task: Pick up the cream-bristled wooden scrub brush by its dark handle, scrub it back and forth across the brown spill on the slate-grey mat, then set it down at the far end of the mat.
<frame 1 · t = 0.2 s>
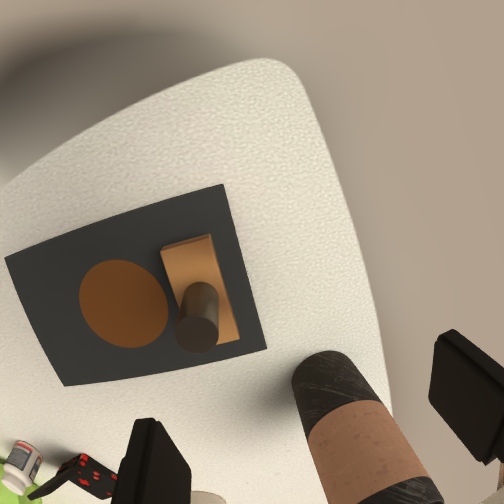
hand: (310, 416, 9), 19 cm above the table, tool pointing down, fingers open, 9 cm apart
mug: (188, 502, 37), on the table
pill bottle: (30, 450, 32), on the table
scrub brush: (202, 285, 27), resting on scrub mat
handheld gaming console: (86, 469, 33), on the table
travel mug: (322, 376, 32), on the table
teapot: (16, 474, 34), on the table
scrub mat: (122, 304, 27), on the table
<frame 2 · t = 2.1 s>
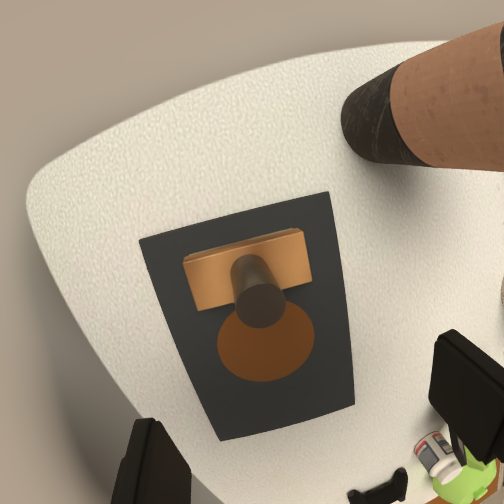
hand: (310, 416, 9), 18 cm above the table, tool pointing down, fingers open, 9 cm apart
pill bottle: (426, 441, 37), on the table
scrub brush: (245, 261, 25), resting on scrub mat
gaming controller: (375, 485, 39), on the table
handheld gaming console: (455, 391, 35), on the table
travel mug: (375, 124, 24), on the table
teapot: (452, 456, 41), on the table
scrub mat: (266, 341, 28), on the table
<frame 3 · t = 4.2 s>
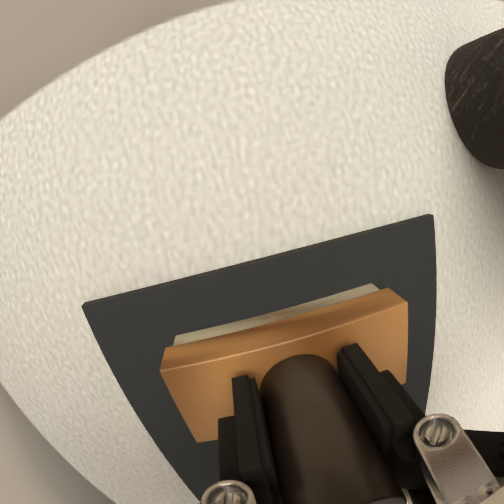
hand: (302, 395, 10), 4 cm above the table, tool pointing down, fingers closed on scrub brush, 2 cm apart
scrub brush: (284, 346, 13), resting on scrub mat, touching gripper
travel mug: (486, 105, 12), on the table
scrub mat: (306, 446, 16), on the table
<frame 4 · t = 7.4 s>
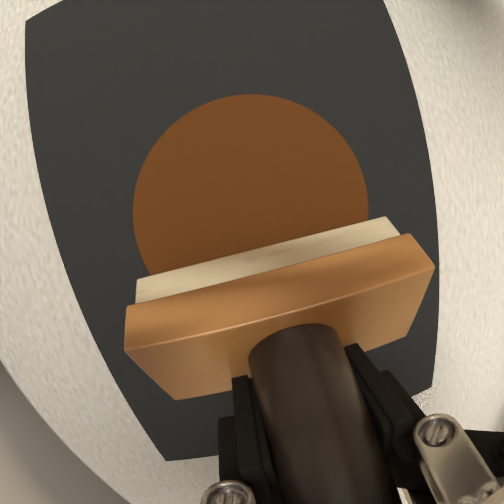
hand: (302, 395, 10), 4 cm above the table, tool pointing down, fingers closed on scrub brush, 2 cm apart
scrub brush: (271, 282, 11), point 1 cm above the table, tilted 28°, touching gripper
scrub mat: (253, 214, 12), on the table
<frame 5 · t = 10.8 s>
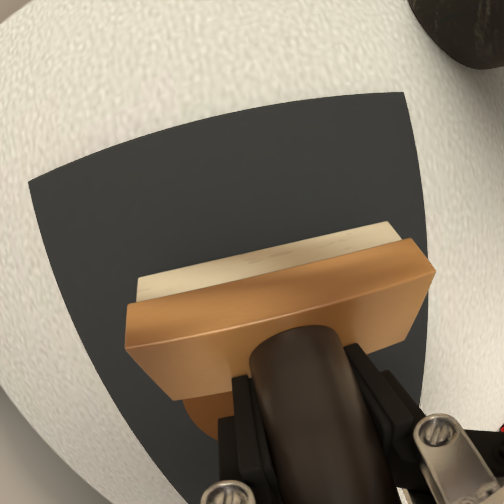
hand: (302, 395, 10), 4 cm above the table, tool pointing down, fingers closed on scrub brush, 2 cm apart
scrub brush: (272, 284, 11), point 1 cm above the table, tilted 28°, touching gripper
travel mug: (453, 14, 10), on the table
scrub mat: (277, 386, 14), on the table
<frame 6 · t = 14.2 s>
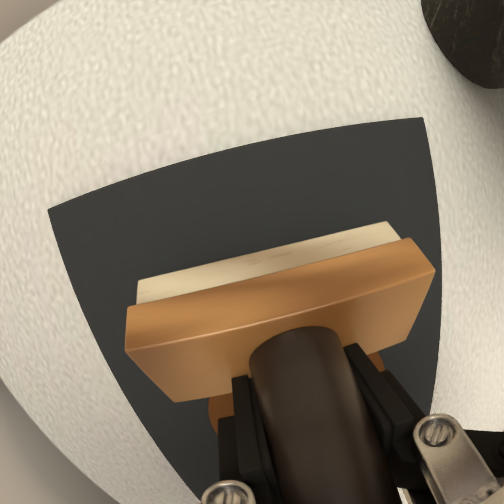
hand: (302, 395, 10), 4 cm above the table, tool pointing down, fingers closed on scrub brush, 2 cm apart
scrub brush: (272, 285, 11), point 1 cm above the table, tilted 27°, touching gripper, scrub mat
travel mug: (467, 32, 10), on the table
scrub mat: (299, 401, 14), on the table
when the fingers open (3 cm above the table, at t = 17.3 s): scrub brush stays where it is, resting on scrub mat.
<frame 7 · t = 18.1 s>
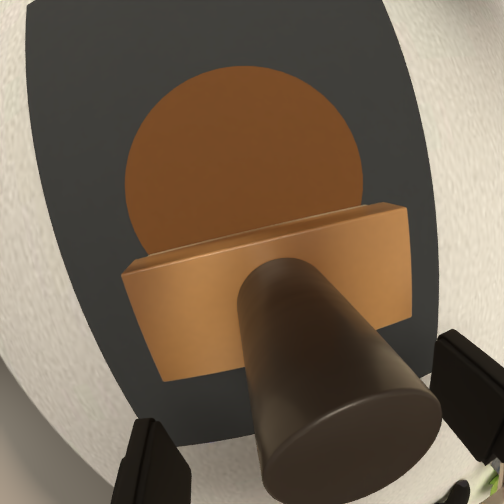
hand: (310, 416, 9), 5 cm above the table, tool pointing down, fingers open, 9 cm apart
pill bottle: (499, 438, 20), on the table
scrub brush: (269, 273, 12), resting on scrub mat
scrub mat: (246, 183, 11), on the table
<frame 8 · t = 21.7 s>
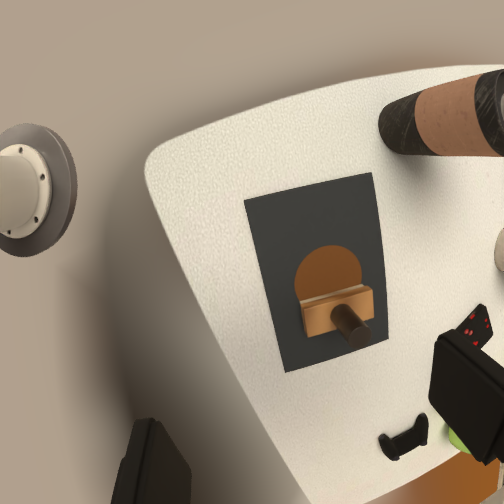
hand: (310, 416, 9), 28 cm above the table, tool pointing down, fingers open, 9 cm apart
scrub brush: (333, 304, 39), resting on scrub mat
gaming controller: (401, 431, 49), on the table
handheld gaming console: (463, 339, 45), on the table
travel mug: (400, 128, 35), on the table
teapot: (464, 410, 51), on the table
scrub mat: (328, 279, 38), on the table
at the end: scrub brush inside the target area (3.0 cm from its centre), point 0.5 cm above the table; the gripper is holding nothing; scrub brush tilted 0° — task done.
